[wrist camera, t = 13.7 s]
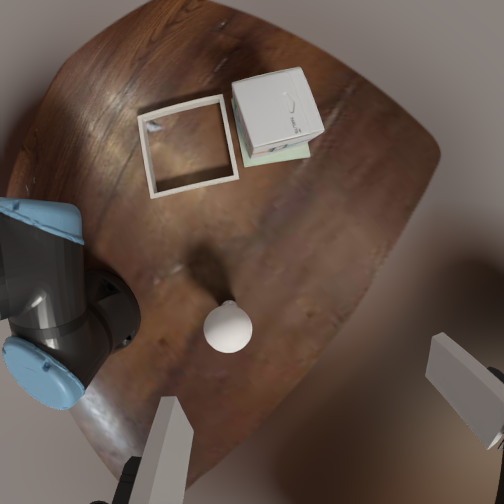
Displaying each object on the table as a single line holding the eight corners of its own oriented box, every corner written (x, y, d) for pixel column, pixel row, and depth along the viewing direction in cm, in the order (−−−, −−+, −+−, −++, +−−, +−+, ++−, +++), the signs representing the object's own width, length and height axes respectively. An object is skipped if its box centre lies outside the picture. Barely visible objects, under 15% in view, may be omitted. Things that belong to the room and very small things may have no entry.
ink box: (232, 109, 37) (229, 80, 26) (286, 95, 37) (302, 64, 25) (249, 161, 39) (252, 149, 27) (304, 146, 39) (327, 131, 27)
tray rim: (155, 198, 40) (150, 198, 38) (141, 119, 37) (137, 116, 35) (239, 179, 40) (239, 178, 38) (223, 98, 37) (222, 93, 35)
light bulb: (246, 284, 43) (248, 314, 33) (253, 321, 45) (257, 358, 34) (205, 291, 43) (195, 322, 33) (214, 327, 45) (207, 364, 34)
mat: (244, 167, 40) (244, 167, 39) (231, 100, 37) (231, 98, 37) (309, 157, 40) (310, 156, 39) (294, 91, 37) (295, 90, 36)
